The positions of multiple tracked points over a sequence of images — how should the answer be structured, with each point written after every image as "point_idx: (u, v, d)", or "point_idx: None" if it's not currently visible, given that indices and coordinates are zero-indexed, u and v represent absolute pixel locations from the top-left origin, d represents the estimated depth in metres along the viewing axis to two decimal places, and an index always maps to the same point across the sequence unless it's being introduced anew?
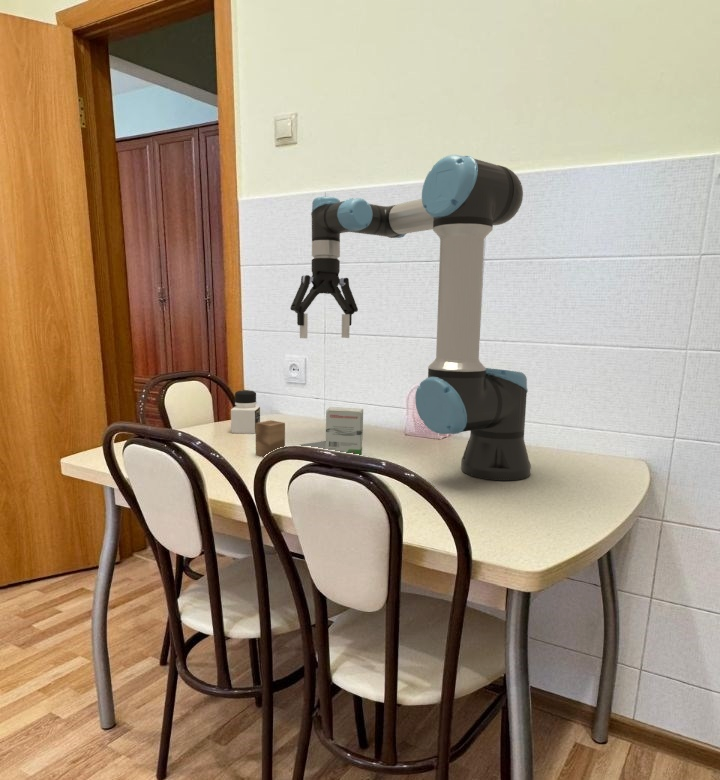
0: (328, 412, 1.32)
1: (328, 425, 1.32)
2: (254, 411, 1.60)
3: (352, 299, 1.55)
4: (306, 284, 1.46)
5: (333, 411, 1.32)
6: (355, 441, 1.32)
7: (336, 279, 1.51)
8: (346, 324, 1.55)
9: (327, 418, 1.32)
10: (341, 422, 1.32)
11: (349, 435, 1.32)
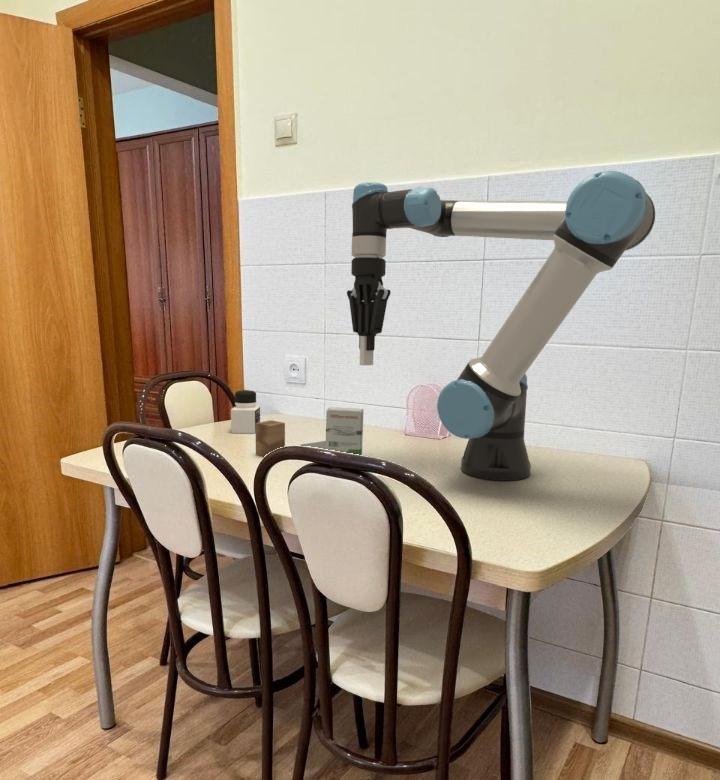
0: (328, 412, 1.32)
1: (328, 425, 1.32)
2: (254, 411, 1.60)
3: (374, 316, 1.21)
4: (350, 300, 1.27)
5: (333, 411, 1.32)
6: (355, 441, 1.32)
7: (372, 282, 1.21)
8: None
9: (327, 418, 1.32)
10: (341, 422, 1.32)
11: (349, 435, 1.32)
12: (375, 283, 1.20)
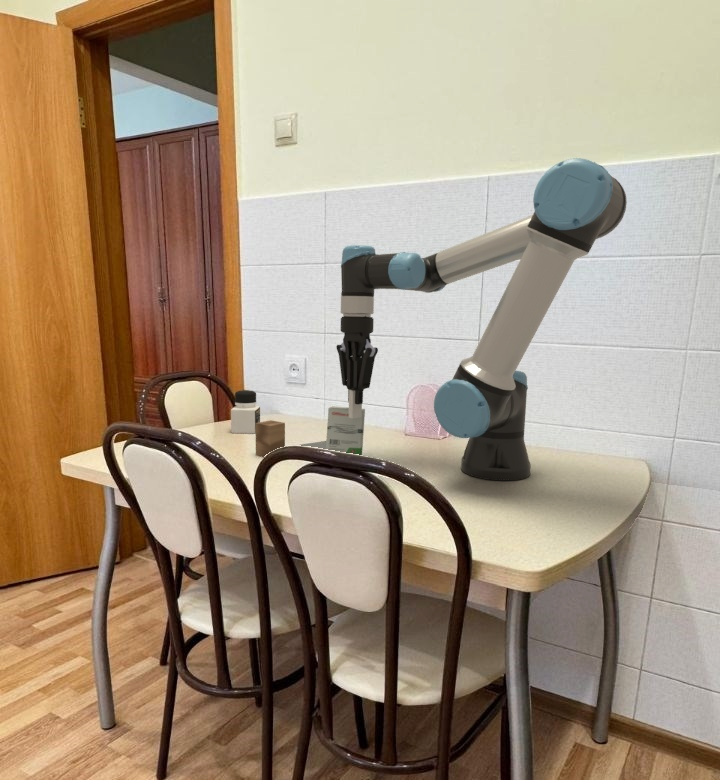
0: (330, 409, 1.33)
1: (330, 422, 1.33)
2: (254, 411, 1.60)
3: (362, 373, 1.26)
4: (339, 354, 1.32)
5: (335, 408, 1.33)
6: (356, 439, 1.33)
7: (361, 340, 1.25)
8: None
9: (329, 415, 1.33)
10: (343, 420, 1.33)
11: (350, 433, 1.33)
12: (363, 341, 1.25)
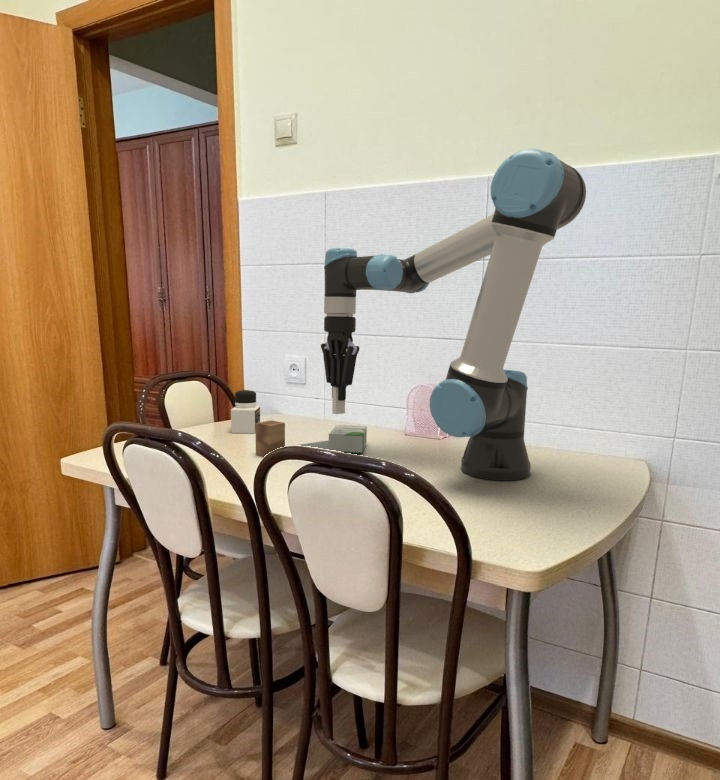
0: (337, 425, 1.49)
1: (335, 427, 1.46)
2: (254, 411, 1.60)
3: (344, 370, 1.31)
4: (323, 353, 1.37)
5: (341, 425, 1.49)
6: (359, 430, 1.42)
7: (343, 338, 1.31)
8: None
9: (335, 426, 1.48)
10: (348, 426, 1.47)
11: (354, 429, 1.43)
12: (345, 340, 1.30)
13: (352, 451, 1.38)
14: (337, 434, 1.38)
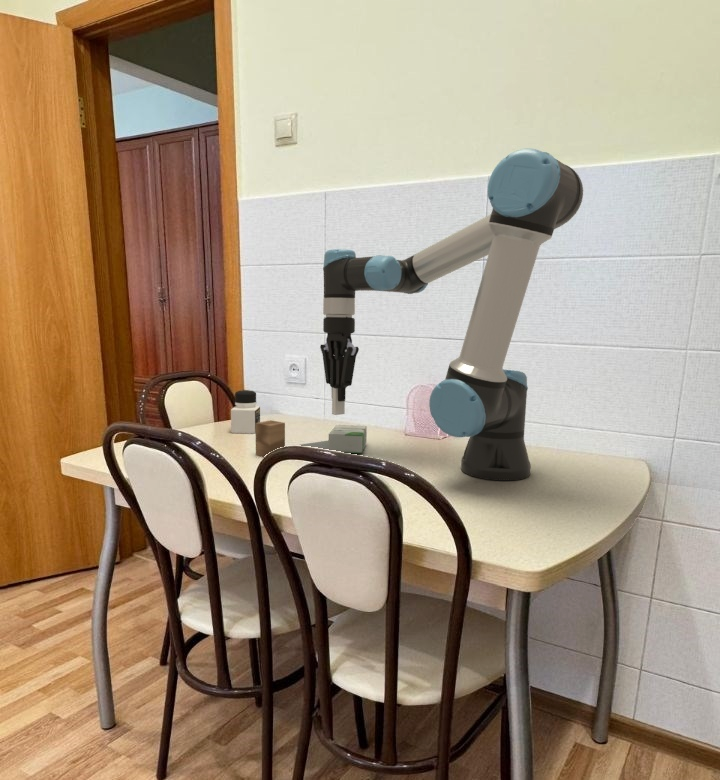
0: (337, 425, 1.49)
1: (335, 427, 1.46)
2: (254, 411, 1.60)
3: (344, 371, 1.31)
4: (323, 354, 1.38)
5: (341, 425, 1.49)
6: (359, 430, 1.42)
7: (342, 339, 1.31)
8: None
9: (335, 426, 1.48)
10: (347, 426, 1.47)
11: (354, 429, 1.43)
12: (344, 341, 1.31)
13: (352, 451, 1.38)
14: (337, 434, 1.38)
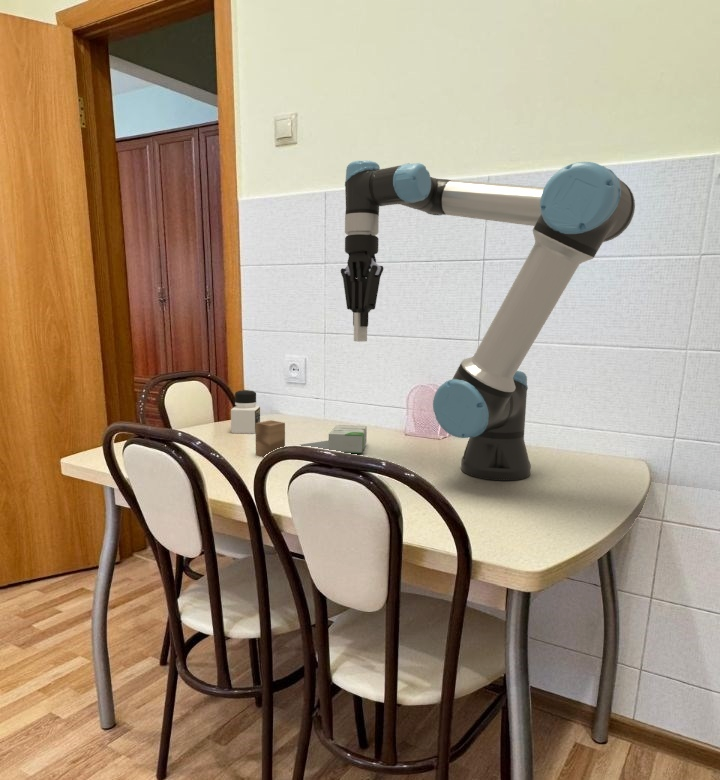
0: (337, 425, 1.49)
1: (335, 427, 1.46)
2: (254, 411, 1.60)
3: (367, 292, 1.23)
4: (344, 278, 1.30)
5: (341, 425, 1.49)
6: (359, 430, 1.42)
7: (366, 258, 1.23)
8: None
9: (335, 426, 1.48)
10: (347, 426, 1.47)
11: (354, 429, 1.43)
12: (368, 259, 1.22)
13: (352, 451, 1.38)
14: (337, 434, 1.38)
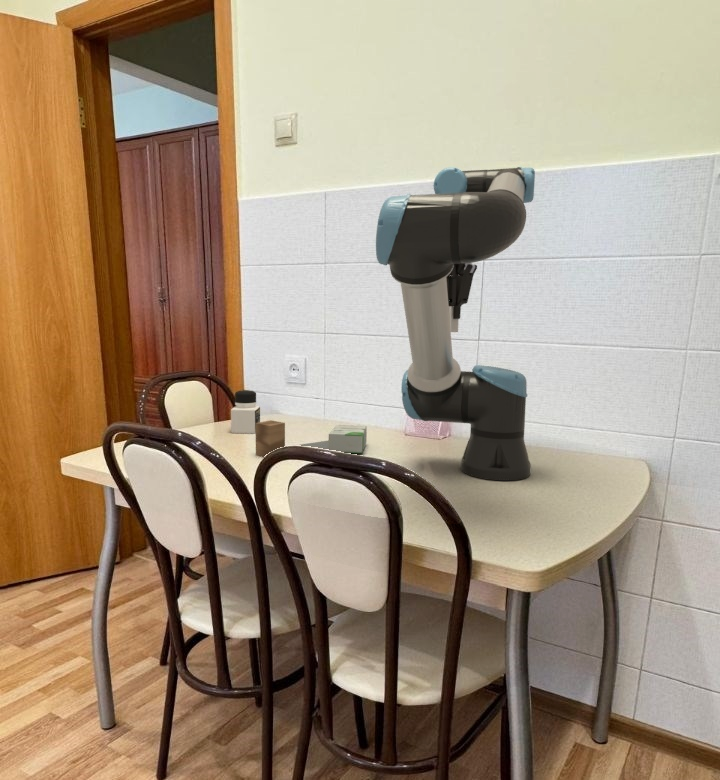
0: (337, 425, 1.49)
1: (335, 427, 1.46)
2: (254, 411, 1.60)
3: (462, 288, 1.39)
4: None
5: (341, 425, 1.49)
6: (359, 430, 1.42)
7: None
8: None
9: (335, 426, 1.48)
10: (347, 426, 1.47)
11: (354, 429, 1.43)
12: None
13: (352, 451, 1.38)
14: (337, 434, 1.38)
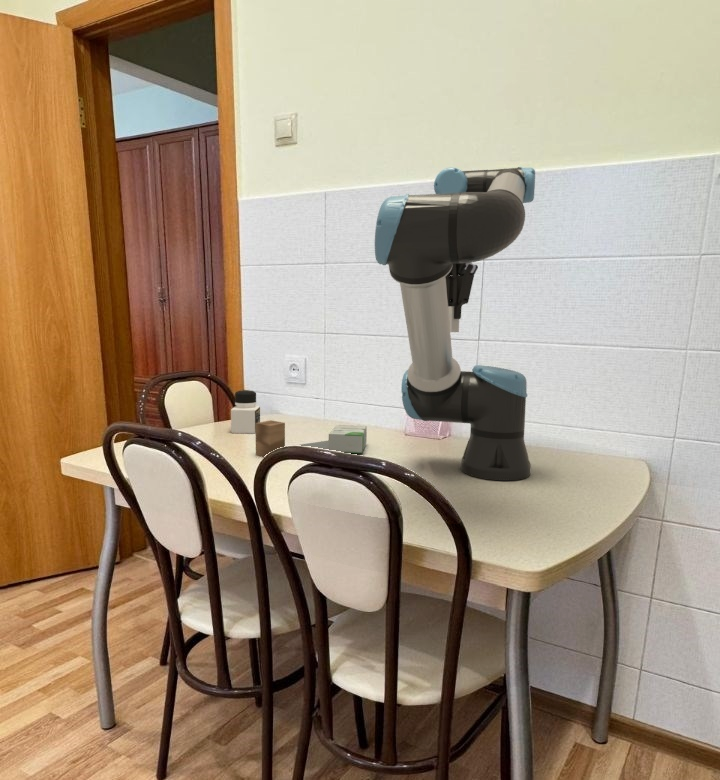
0: (337, 425, 1.49)
1: (335, 427, 1.46)
2: (254, 411, 1.60)
3: (462, 288, 1.39)
4: None
5: (341, 425, 1.49)
6: (359, 430, 1.42)
7: None
8: None
9: (335, 426, 1.48)
10: (347, 426, 1.47)
11: (354, 429, 1.43)
12: None
13: (352, 451, 1.38)
14: (337, 434, 1.38)
